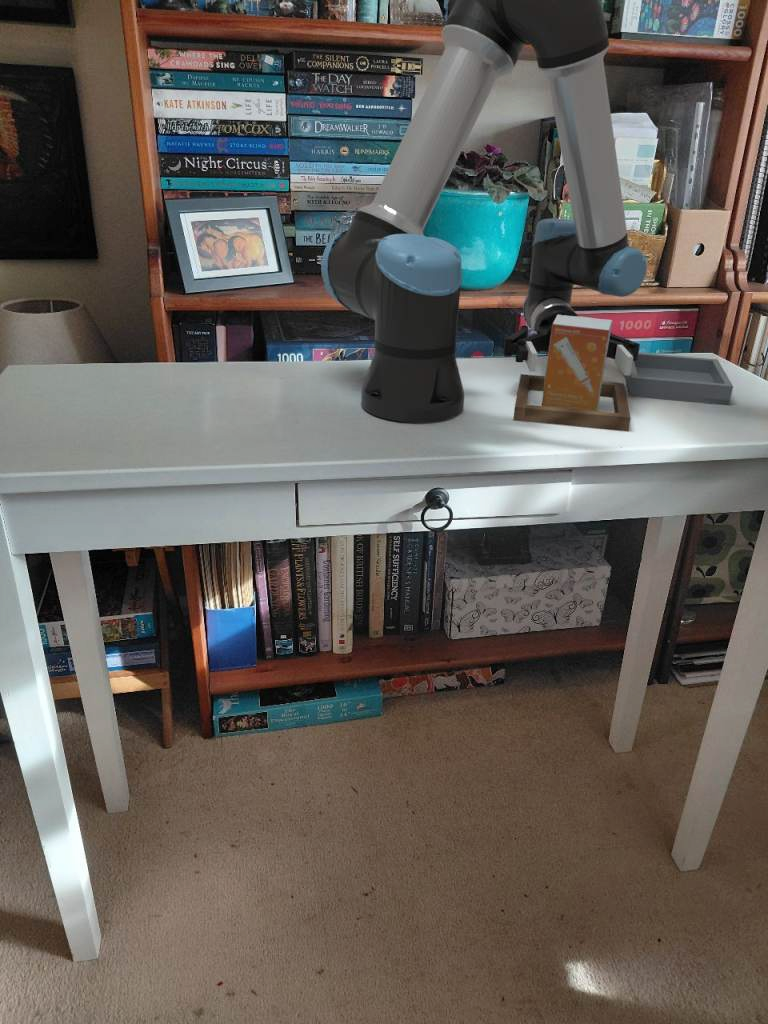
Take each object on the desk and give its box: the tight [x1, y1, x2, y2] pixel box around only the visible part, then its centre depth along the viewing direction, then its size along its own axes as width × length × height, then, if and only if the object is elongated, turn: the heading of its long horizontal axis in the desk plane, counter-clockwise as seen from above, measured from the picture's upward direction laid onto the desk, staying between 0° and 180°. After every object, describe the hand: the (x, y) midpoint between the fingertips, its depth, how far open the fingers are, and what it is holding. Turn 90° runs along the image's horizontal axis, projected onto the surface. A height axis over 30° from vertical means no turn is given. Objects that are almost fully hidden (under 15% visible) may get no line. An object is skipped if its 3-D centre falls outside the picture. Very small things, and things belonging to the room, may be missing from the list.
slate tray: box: [623, 352, 734, 406], centre depth 133 cm, size 15×15×3 cm
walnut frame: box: [512, 373, 631, 432], centre depth 123 cm, size 16×16×2 cm
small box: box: [540, 315, 613, 411], centre depth 120 cm, size 8×6×13 cm
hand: (581, 364), depth 117 cm, fingers open, 13 cm apart
